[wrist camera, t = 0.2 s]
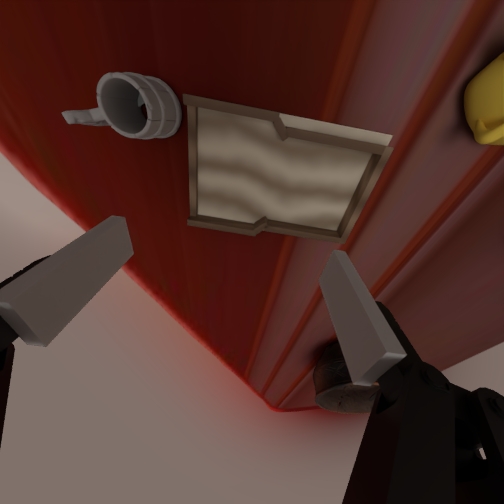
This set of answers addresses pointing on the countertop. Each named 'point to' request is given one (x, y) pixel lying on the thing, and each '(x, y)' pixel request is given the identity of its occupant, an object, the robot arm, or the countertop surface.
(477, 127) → the teapot
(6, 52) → the countertop surface
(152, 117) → the mug
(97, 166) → the countertop surface
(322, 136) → the rimmed tray
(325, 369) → the bowl
